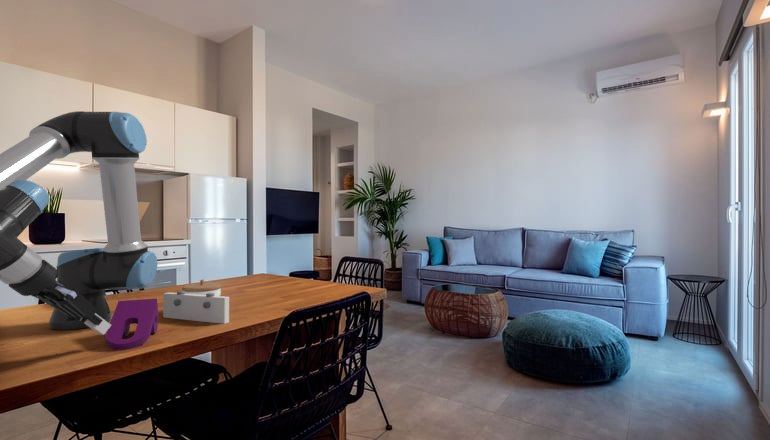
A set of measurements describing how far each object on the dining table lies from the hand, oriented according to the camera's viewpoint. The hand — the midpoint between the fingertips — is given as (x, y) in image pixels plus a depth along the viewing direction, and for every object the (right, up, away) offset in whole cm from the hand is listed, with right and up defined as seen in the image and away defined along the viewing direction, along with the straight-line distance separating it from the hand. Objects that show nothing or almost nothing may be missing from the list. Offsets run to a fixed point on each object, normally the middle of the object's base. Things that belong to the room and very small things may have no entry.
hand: (105, 329), depth 96 cm
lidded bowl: (+5, -5, +40) cm, 41 cm away
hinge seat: (+9, -5, +27) cm, 29 cm away
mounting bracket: (+3, -5, +6) cm, 9 cm away
